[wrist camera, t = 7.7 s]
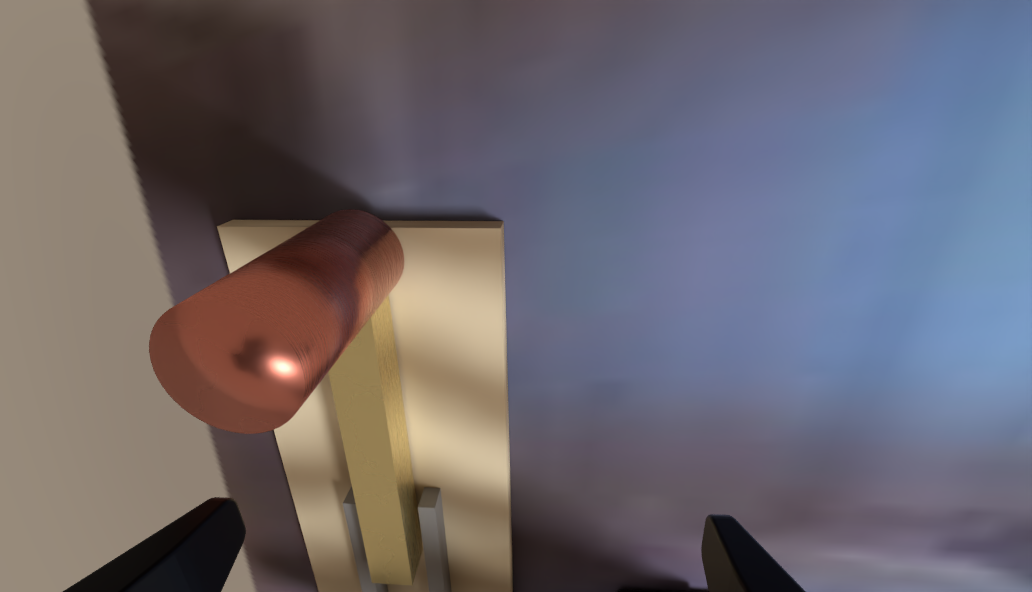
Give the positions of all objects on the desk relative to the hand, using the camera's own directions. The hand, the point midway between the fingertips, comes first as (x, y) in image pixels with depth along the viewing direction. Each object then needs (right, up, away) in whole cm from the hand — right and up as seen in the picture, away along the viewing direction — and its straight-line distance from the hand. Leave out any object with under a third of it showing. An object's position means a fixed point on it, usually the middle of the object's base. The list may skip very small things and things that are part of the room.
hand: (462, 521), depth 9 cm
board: (-5, -5, +15) cm, 17 cm away
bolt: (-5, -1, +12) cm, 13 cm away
